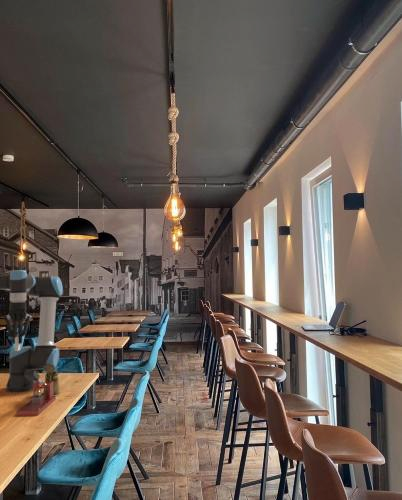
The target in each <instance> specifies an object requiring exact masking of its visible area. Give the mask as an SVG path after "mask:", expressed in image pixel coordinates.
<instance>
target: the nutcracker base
mask: <svg viewBox="0 0 402 500" xmlns="http://www.w3.org/2000/svg"><path fill="white" fill-rule="evenodd" d="M32 389H33V391H32V392H33V394H32V395H33V396H32V397H31V399H30V400H29V401H28V402H26V404H24V405H23V406H21V407H20V408H19V409H18V410H16V415H15V416H16V417H17V416H18V417H21V416H22V417H24V416H25V417H27V416H31V417H33V416H34V417H35V416H39V415H40V414H41V413H43V412H44V411H45V410H46V409H47V408H48V407H49V406H50V405H51V404H53V403H54V402H55V401H56V399H57V395H53V381H49V382H47V383H46V395H43V394H42V389H40V387H39V386H38V385H37V384H36V383H35V382H34V384H33V388H32Z"/></svg>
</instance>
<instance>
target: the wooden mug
mask: <svg viewBox="0 0 402 500" xmlns="http://www.w3.org/2000/svg"><path fill="white" fill-rule="evenodd" d="M43 371H44V372H45V378H44V379H45V380H44V383H45V384H46V383H47V382H49V381H53V396H57V395H59V394H60V393H61V390H60V384H59V383H60V381H59V373H58V371H56V367H55V366H54V365H52V364H49V363H48V364H46V365H45V366H44V369H43ZM42 395H43V396H46V389H43V392H42Z"/></svg>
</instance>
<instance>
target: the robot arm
mask: <svg viewBox="0 0 402 500" xmlns="http://www.w3.org/2000/svg"><path fill="white" fill-rule="evenodd" d="M9 273H10V274H0V290H4V291H9V301H10V302H9V311H8V314H7V315H5V316H4V317H3V319H4V321H5V322H6V326H7V327H6V328H7V332H8V335H9V337H12V343H13V345H14V348H13V349H11V350H10V352H9V358H8V359H9V377H8V380H7V382H6V386H5V391H7V392H9V393H10V392H13V393H14V392H15V393H16V392H17V393H18V392H23V391H29V390H32V389H33V384H34V383H35V382H34V381H30V380H28V379H27V378H26V377H25V376H24V373H25V370H35V371H36V370H44V366H45V365H46V364H48V363H49V364H52V365H54V366H55V368H56V367H57V364H58V362H59V358H60V349H59V348H58V347H57V344H56V343H55V328H56V326H55V325H56V311H57V310H56V309H57V308H56V307H57V302H58V301H59V299H60V297H61V296H62V295H63V291H64V290H63V289H64V287H63V284H62V280H61V278H60V277H58V276H52V275H51V276H50V275H49V276H34V275H32V274H29V273H27V270H25V269H12V270H10V272H9ZM27 296H30V297H38V300H39V301H40V308H39V309H40V310H39V313H40V314H39V325H38V327H39V328H38V342H37V343H36V344H35V346H34V348H33V347H32V346H31V345H26V346H21V344H22V343H23V337H24V336H26V335H27V333H28V328H29V325H30V322H31V320H32V318H33V315H30V314H28V311H27V302H26V301H27ZM24 319H25V321H24Z"/></svg>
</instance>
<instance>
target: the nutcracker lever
mask: <svg viewBox="0 0 402 500" xmlns="http://www.w3.org/2000/svg"><path fill="white" fill-rule="evenodd" d="M24 376H25V377H26V378H27V379H28V380H30V381H34V383H36V384H37V385H38V386H39V387H40V389H41V390H42V389H43V390H44V389H46V384H45V381H43V380H42V379H41V378H40V374H39V373H38V372H37V371H36V370H25V373H24Z"/></svg>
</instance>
